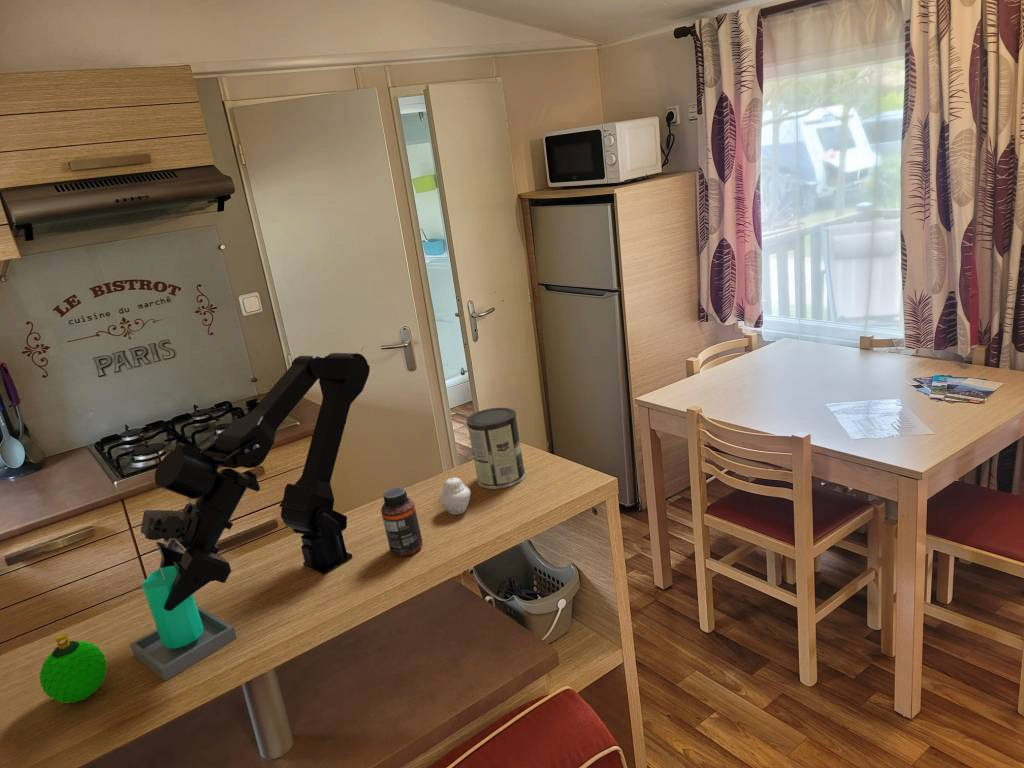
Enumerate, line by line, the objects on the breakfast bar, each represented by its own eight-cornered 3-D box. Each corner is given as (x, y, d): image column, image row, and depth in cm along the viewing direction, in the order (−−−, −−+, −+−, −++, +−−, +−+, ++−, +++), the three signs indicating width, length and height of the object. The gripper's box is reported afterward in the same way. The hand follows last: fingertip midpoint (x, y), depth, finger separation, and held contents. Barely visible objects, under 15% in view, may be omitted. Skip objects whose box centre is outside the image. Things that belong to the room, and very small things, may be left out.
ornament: (106, 669, 111) (86, 611, 108) (120, 693, 105) (99, 632, 102) (46, 698, 107) (22, 639, 104) (56, 725, 100) (32, 663, 98)
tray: (202, 616, 122) (199, 606, 121) (236, 638, 114) (233, 626, 114) (133, 655, 114) (129, 644, 113) (165, 681, 106) (161, 669, 106)
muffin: (435, 513, 146) (429, 480, 144) (460, 500, 149) (454, 468, 147) (454, 521, 141) (448, 488, 139) (479, 508, 145) (474, 475, 143)
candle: (186, 620, 118) (165, 554, 114) (212, 627, 115) (190, 559, 111) (153, 644, 113) (129, 575, 109) (179, 652, 110) (155, 581, 106)
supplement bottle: (410, 537, 137) (398, 481, 134) (430, 546, 133) (418, 488, 130) (383, 552, 134) (371, 495, 130) (403, 561, 129) (390, 502, 126)
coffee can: (500, 465, 164) (490, 404, 160) (535, 473, 157) (526, 410, 153) (466, 483, 157) (455, 421, 153) (501, 493, 150) (491, 428, 146)
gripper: (148, 473, 116) (94, 566, 113) (185, 504, 102) (124, 612, 99) (212, 498, 123) (163, 587, 120) (254, 531, 109) (200, 632, 106)
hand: (161, 603), depth 111 cm, fingers closed on candle, 5 cm apart
